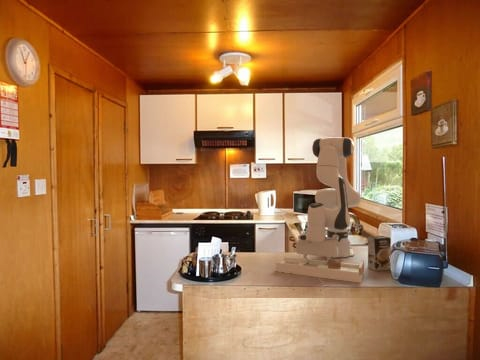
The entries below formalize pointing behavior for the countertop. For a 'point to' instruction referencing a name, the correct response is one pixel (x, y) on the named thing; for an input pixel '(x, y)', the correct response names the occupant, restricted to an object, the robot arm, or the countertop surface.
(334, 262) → the walnut block
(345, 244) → the robot arm
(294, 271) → the trap track
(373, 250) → the coffee box
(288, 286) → the countertop surface
